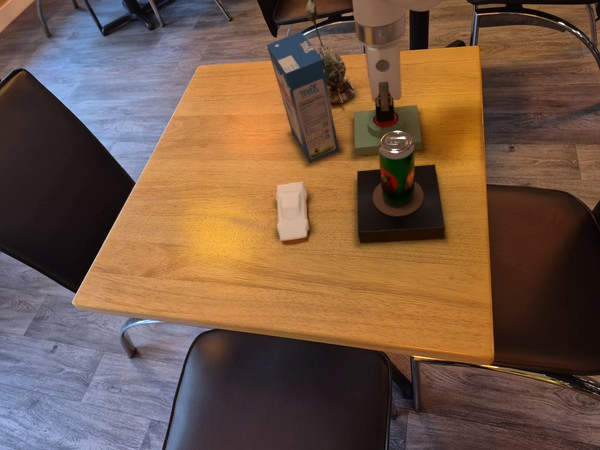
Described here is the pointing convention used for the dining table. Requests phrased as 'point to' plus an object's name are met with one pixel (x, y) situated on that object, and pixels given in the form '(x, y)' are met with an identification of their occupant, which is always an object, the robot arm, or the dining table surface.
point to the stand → (399, 209)
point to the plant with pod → (332, 66)
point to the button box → (384, 129)
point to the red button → (386, 122)
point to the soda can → (397, 167)
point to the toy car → (292, 211)
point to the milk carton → (304, 95)
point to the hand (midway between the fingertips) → (385, 118)
